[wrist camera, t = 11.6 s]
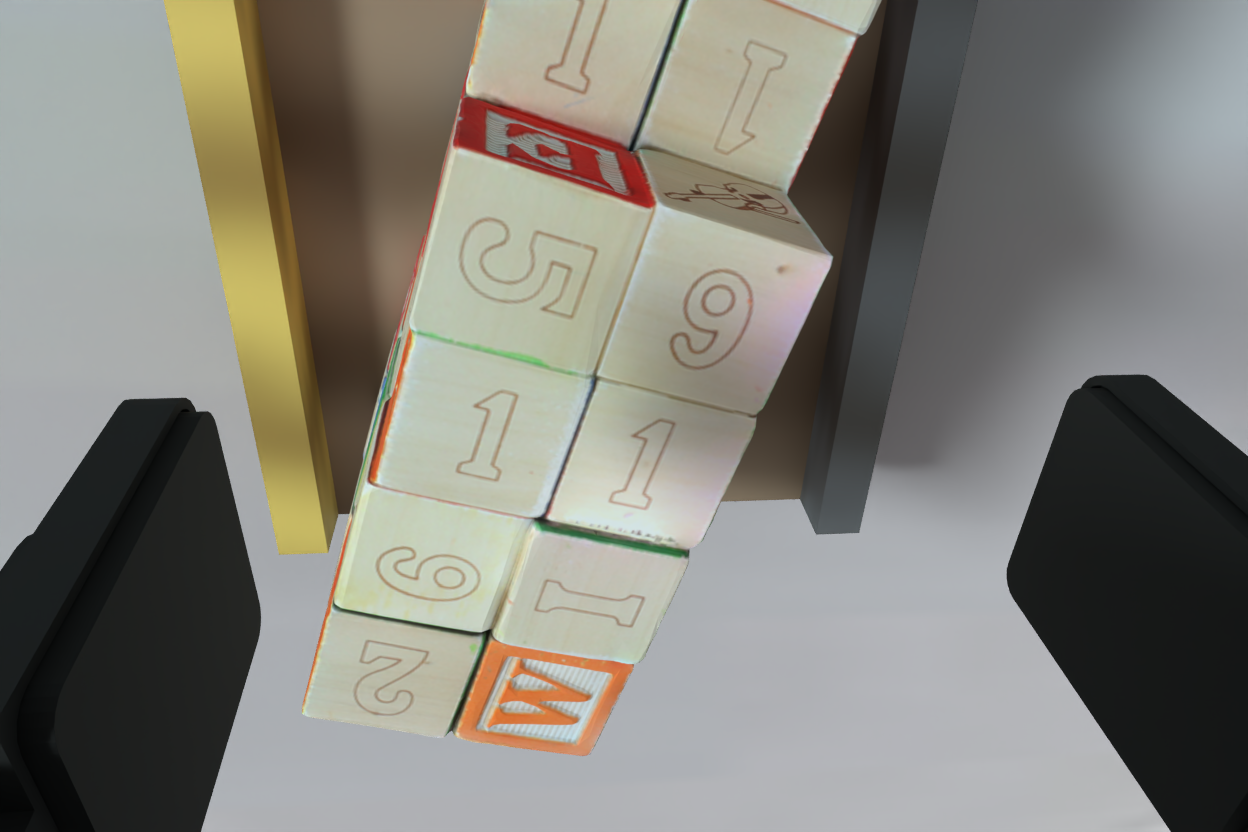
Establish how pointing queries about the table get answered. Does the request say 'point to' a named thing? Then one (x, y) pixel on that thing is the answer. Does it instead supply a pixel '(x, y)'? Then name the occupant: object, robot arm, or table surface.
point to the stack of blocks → (577, 358)
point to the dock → (404, 195)
